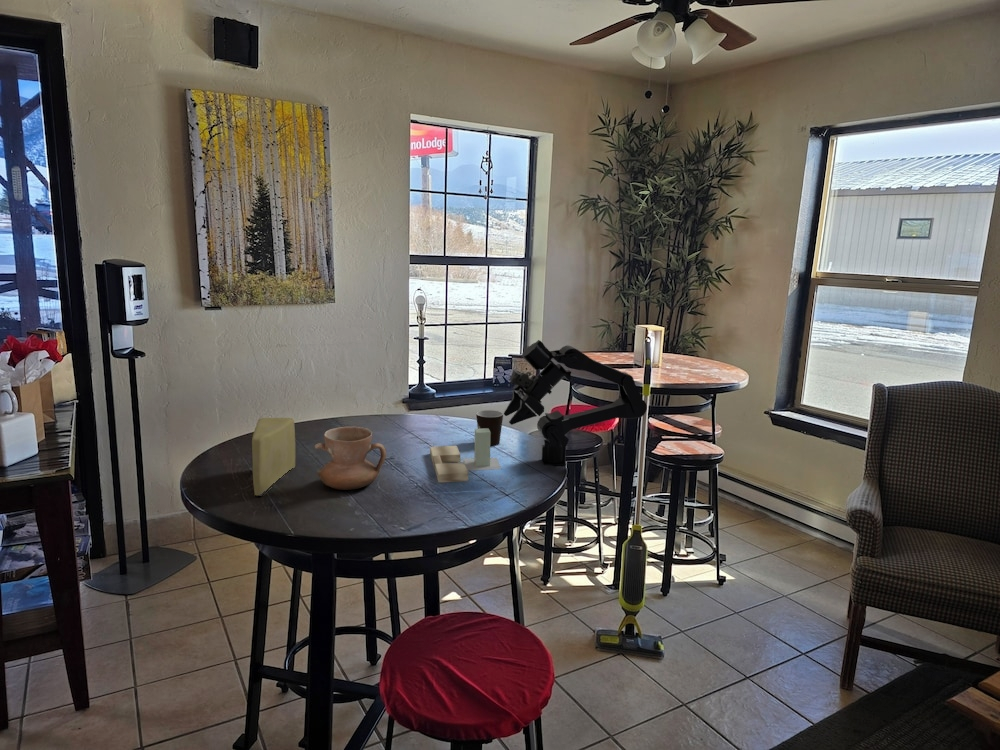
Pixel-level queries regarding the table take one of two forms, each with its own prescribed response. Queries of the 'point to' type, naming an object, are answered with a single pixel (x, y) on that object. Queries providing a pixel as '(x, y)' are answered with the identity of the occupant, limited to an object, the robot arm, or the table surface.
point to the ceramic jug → (349, 458)
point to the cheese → (272, 451)
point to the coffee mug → (491, 424)
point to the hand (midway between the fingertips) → (507, 419)
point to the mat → (471, 466)
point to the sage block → (482, 447)
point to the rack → (448, 464)
